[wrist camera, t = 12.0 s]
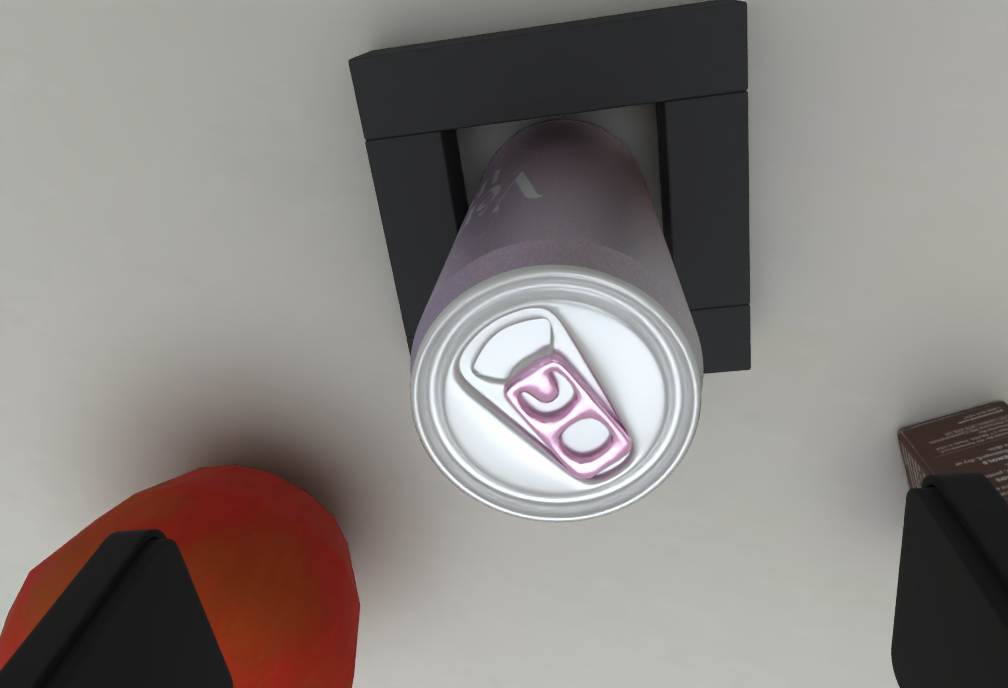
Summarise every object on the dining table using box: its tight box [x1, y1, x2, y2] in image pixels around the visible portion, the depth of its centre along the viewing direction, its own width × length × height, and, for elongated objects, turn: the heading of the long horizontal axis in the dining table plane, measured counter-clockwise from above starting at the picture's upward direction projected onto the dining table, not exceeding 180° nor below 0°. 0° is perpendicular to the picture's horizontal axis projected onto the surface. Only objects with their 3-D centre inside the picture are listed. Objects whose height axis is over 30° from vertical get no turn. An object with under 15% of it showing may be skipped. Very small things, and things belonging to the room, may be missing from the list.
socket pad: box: [349, 0, 751, 374], centre depth 27 cm, size 12×12×3 cm
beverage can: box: [410, 120, 703, 522], centre depth 22 cm, size 6×6×15 cm
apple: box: [0, 465, 360, 688], centre depth 29 cm, size 12×12×14 cm
